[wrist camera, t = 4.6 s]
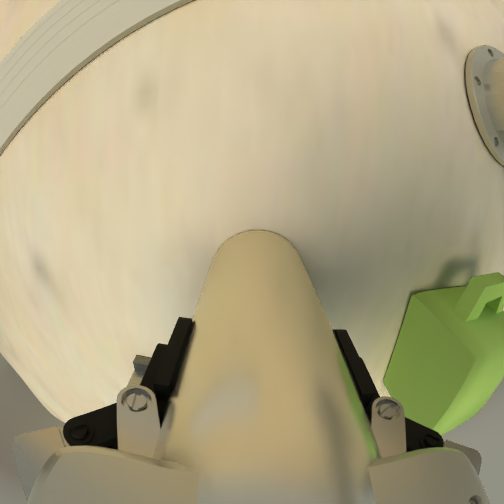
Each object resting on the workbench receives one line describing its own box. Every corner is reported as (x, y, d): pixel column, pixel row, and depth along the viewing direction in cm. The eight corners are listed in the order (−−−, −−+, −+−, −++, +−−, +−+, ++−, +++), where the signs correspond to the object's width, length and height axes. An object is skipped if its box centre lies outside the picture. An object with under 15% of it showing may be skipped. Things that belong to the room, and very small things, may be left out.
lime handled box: (434, 384, 25) (467, 435, 17) (371, 405, 25) (398, 469, 16) (484, 254, 19) (549, 297, 10) (417, 260, 19) (495, 323, 10)
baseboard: (-32, 108, 13) (-17, 186, 17) (-48, 109, 10) (-35, 192, 14) (184, -71, 9) (236, -11, 12) (178, -87, 6) (234, -31, 10)
